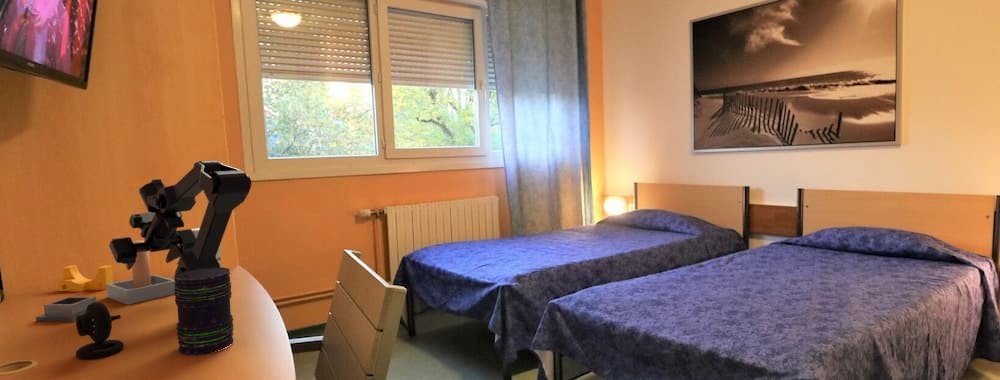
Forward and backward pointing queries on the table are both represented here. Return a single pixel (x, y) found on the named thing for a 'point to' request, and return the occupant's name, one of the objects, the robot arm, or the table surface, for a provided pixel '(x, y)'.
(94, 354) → the webcam
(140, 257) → the tan rounded tapered piece
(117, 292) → the bin
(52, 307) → the stud base
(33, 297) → the table surface
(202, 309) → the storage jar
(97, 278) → the pipe clamp
